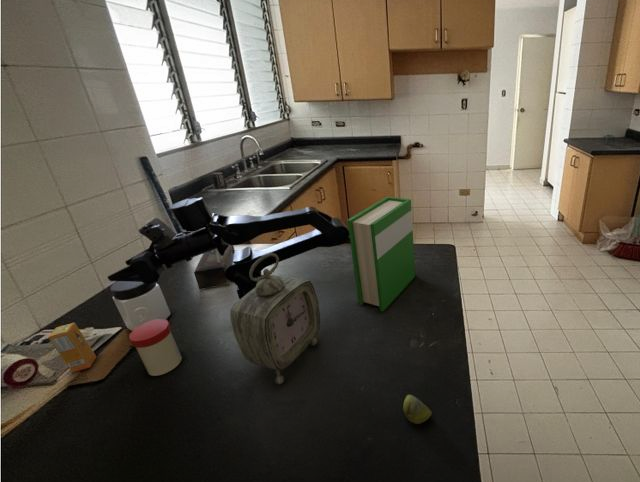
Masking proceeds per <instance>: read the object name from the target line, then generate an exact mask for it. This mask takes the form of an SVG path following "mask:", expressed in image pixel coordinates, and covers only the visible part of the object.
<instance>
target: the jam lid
mask: <svg viewBox="0 0 640 482" xmlns="http://www.w3.org/2000/svg"><path fill="white" fill-rule="evenodd" d="M170 332H171V333H172V327H171V324H170V322H169V321H168V319H166V320H165V319H157V320H152V321H149V322H147V323H144V324H142V325H141V326H139V327H137V328H136V329H135V330H133V331H132V330H131V332H130V334H129V341H130V344H131V346H133V347H134V348H136V347H137V348H142V347H148V346H151V345H153V344H156V343H158V342H160V341H161V340H163V339H164V338H166V337H167V336H168V335H169V333H170Z"/></svg>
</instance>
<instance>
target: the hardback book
mask: <svg viewBox="0 0 640 482" xmlns="http://www.w3.org/2000/svg"><path fill="white" fill-rule="evenodd" d="M346 221H347V229H348V231H349V242H350V249H351V256H352V263H353V265H352V266H353V270H354V277H355V278H354V279H355V284H356V285H355V286H356V292H357V300H358V305H360V306H363V305H364V304H365V303H366V304H369V305H373V306H377V307H378V308H379V311H380V312H382V313H383V312H384V311H385V310H386V309H387V308H388V307H389V306H390V305H391V304H392V303H393V302H394V300H395V299H397V297H398V296H399V295H400V294H401V293H402V292H403V291H404V289H405V288H406V287H408V285H409V284H410V283H411V282H412V281H413V280H414V278H416V264H415V262H416V261H415V246H414V230H413V212H412V199H410V198H403V197H396V196H387V195H386V197H384V198H382V199H380V200H378V201H377V202H375V203H373V204H372V205H370V206H369V207H366V208H365V209H363V210H362V211H360V212H358V213H356V214H355V215H352V216H351V217H350V218H348V219H347V220H346Z"/></svg>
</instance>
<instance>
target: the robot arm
mask: <svg viewBox="0 0 640 482" xmlns="http://www.w3.org/2000/svg"><path fill="white" fill-rule="evenodd" d="M169 210H170V212H171V213H172V215H173V216H174V218H175V220H176V221H177V223H178V224H179V226H180V228H181V230H183V231H185V232H187V233H185V232H179V233H175V231H174V230H173V229H172V228H171V227H170V226H168V225H167V224H166V223H165V222H163V221H162V220H161V219H160V218H158V217H154V218H153V219H151V220H150V221H148V222H147V223H146V224H144V225H143V226H141V227H140V228H139V229H138V232H139V234H140V235H142V236H144V237H145V238H147V239H148V240H149V241H151V243H150V245H149V247H148V248H146V249H144V250H143V251H141V252H139V253H137V254H136V255H134V256H132V257H130V258H129V259H127V260H125V264H126V265H127V266H125V267H122V268H121V269H118V270H117V271H115V272H113V273H111V274H109V275H108V276H107V279H108V281H109V282H116V281H134V282H143V283H146V284H147V285H149V284H151V283H154V282H156V283H157V282H158V281H159V280H160V279H161V277H163V275H164V272H165V270H166V269H170V268H173V267H174V265H176V264H178V263H181V262H184V261H186V262H190V261H192V260H193V259H194V258H195V257H198V256H201V255H203V253H206V252H209V251H212V250H215V249H217V250H218V251H219V253H220V255H221V256H223V255H224V253H225V251H226V249H227V248H228V246H229V245H233V246H238V245H242V244H244V243H247V242H249V241H252V240H254V239H256V238H257V237H259V236H261V235H265V234H269V233H274V232H281V231H285V230H289V229H295V228H299V227H305V226H311V227H313V228H314V230H312V231H310V232H307V233H304V234H302V235H298V236H295V237H293V238H290V239H288V240H285V241H282V242H280V243H276V244H274V245H271V246H268V247H266V248H263V249H259V250H257V249H256V250H253V249H252V246H251V245H249V246H246V247H244V248H243V249H239V250H235V252H234V254H232V255H231V256H230V257H229V259H228V261H227V265H226V270H225V276H226V278H227V279H228V280H229V281H228V282H230V283H233V284H235V286H236V293H237V296H238V301H239V300H240V299H241V298H242V297H244V296H245V295H246V294H247V293H249V292H250V291H251V290H252V289H254V288H255V287H256V284H257V283H258V281H252V280H251V279H250V276H249V274H250V269H251V267H252V265H253V264H254V262H255V261H257V260H258V259H259V258H260V257H262V256H264V255H266V254H268V253H274V254H276V255H277V256H278V258H279V263H280V262H284V261H286V260H288V259H291V258H293V257H296V256H299V255H302V254H304V253H307V252H309V251H312V250H315V249H316V248H332V247H337V246H342V245H344V244H345V243H347V242H348V240H349V239H350V236H349V229H348V226H346V223H345V222H344V221H343V220H342V219H341V218H338V217H332V216H330V215H329V214H327V213H325V212H324V211H323V212H322V211H320V210H319V209H317V208H316V207H315V206H306V207H305V208H299V209H294V210H293V209H292V210H288V211H282V212H277V213H270V214H266V215H251V214H250V215H249V214H236V215H230V216H228V215H223V214H218V213H211V211H210V210H209V208H208V205H207V203H206V200H205V198H204V197H198V198H196V197H194V198H185V199H183V200H180V201H178V202H175V203H173V204H172V205H170V206H169ZM275 264H276V258H275V257H273V256H270V257H268V258H266V259H264V260H262V261H261V262H260V263H259V264H258V265H257V266H256V267H255V269H254V271H253V274H252V277H253V278H259V277H261V276H263V275H264V274H262V272H263V271H264V270H265V269H267V268H268V267H270V266H272V265H273V266H274V265H275ZM164 265H165V267H166V269H165V268H164V267H163V266H164Z"/></svg>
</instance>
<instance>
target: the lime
mask: <svg viewBox="0 0 640 482" xmlns="http://www.w3.org/2000/svg"><path fill="white" fill-rule="evenodd" d="M402 409H403V413H404V415H405V417H406V419H407V421H409V422H411V423H413V424H414V425H415V424H416V425H420V424H422V423H424V422H426V421H428V420H429V419H430V418H431V416H432V413H433V412H432V410H431V409H430V408H429V407H428V406H427V405H425V404H424V403H423V402H422V401H421V400H420V399H419V398H418V397H416V396H415V395H413V394H407V395H406V396H405V398H404V401H403V407H402Z"/></svg>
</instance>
